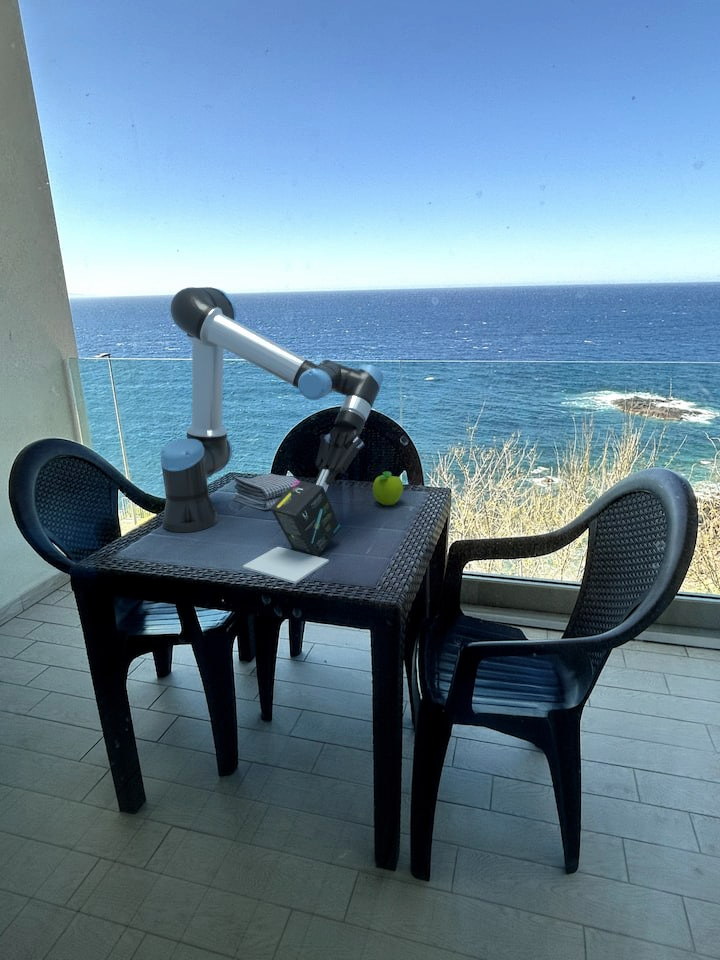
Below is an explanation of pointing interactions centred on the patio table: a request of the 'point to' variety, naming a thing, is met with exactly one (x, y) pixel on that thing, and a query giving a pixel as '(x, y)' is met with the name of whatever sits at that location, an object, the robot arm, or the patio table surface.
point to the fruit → (387, 488)
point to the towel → (262, 490)
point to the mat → (286, 564)
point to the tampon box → (306, 517)
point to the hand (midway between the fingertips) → (318, 494)
